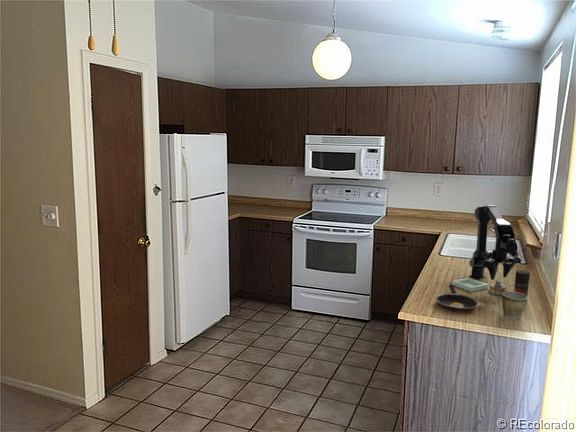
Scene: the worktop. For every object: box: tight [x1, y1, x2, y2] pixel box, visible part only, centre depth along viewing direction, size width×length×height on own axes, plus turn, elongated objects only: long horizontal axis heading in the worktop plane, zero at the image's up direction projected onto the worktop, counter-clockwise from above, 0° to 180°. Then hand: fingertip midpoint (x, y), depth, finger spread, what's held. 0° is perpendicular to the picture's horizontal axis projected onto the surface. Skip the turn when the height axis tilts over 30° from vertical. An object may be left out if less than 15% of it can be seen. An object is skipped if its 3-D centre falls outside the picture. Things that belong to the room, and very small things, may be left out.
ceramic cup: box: [501, 290, 528, 321], centre depth 208 cm, size 13×10×10 cm
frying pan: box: [435, 283, 480, 313], centre depth 225 cm, size 19×32×4 cm, turn 168°
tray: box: [451, 277, 489, 293], centre depth 246 cm, size 12×12×3 cm
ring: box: [489, 283, 509, 295], centre depth 238 cm, size 7×9×3 cm
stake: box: [488, 280, 502, 296], centre depth 239 cm, size 8×8×6 cm
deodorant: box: [513, 269, 531, 304], centre depth 225 cm, size 6×6×15 cm
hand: (498, 278), depth 238 cm, fingers open, 9 cm apart
